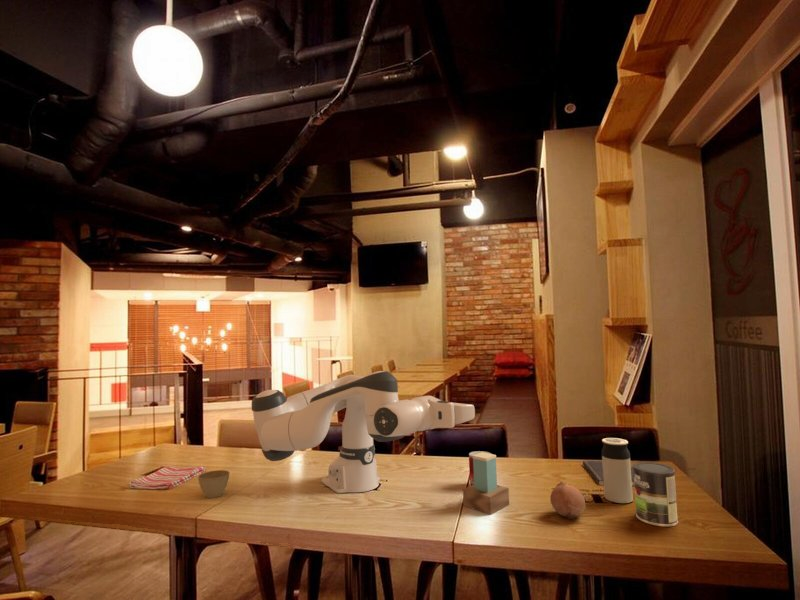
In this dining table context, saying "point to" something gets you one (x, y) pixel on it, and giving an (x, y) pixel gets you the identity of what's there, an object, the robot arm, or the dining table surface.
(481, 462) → the tea tin
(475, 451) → the canned food
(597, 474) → the hardcover book
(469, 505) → the riser block
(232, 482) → the dining table surface
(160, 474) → the dish towel
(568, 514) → the onion
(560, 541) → the dining table surface
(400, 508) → the dining table surface
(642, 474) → the coffee can
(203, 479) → the flower pot
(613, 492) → the travel mug
